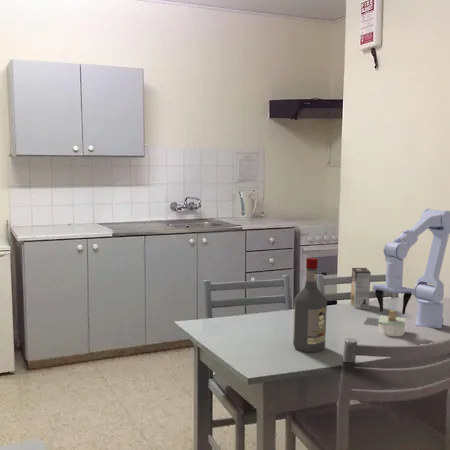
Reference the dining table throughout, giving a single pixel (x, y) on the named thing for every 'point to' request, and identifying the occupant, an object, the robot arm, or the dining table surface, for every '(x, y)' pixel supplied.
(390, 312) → the lid
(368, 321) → the mat
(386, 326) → the bowl
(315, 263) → the liquor
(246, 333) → the dining table surface
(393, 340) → the dining table surface
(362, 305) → the coffee box
